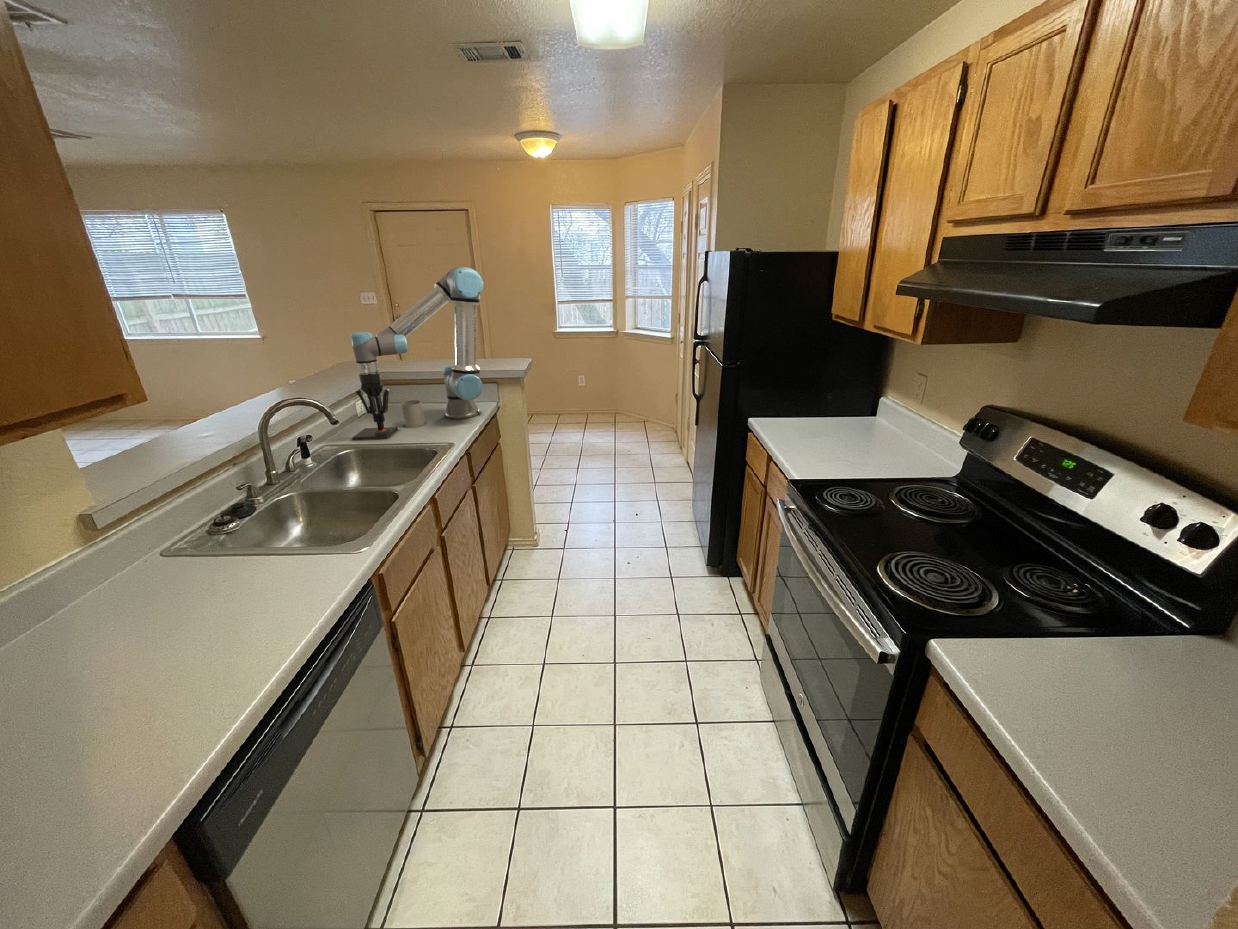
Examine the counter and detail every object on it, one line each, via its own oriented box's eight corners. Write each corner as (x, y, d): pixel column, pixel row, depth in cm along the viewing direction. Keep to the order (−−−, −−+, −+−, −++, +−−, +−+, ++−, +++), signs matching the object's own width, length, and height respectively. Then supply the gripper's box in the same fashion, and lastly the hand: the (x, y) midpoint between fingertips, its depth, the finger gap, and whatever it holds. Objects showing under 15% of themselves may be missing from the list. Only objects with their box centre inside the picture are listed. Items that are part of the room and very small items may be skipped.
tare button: (387, 432, 211) (387, 428, 210) (385, 434, 208) (384, 430, 208) (380, 432, 211) (379, 428, 210) (377, 434, 208) (376, 431, 207)
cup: (401, 426, 223) (396, 404, 219) (413, 421, 230) (409, 399, 227) (417, 427, 221) (412, 405, 217) (428, 422, 228) (425, 400, 224)
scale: (399, 429, 219) (397, 423, 218) (388, 439, 207) (386, 432, 206) (365, 431, 219) (364, 424, 218) (352, 440, 207) (350, 433, 206)
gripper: (348, 375, 196) (361, 432, 205) (381, 374, 196) (393, 431, 205) (356, 371, 203) (369, 427, 212) (389, 370, 203) (400, 425, 212)
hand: (381, 429), depth 209 cm, fingers closed
